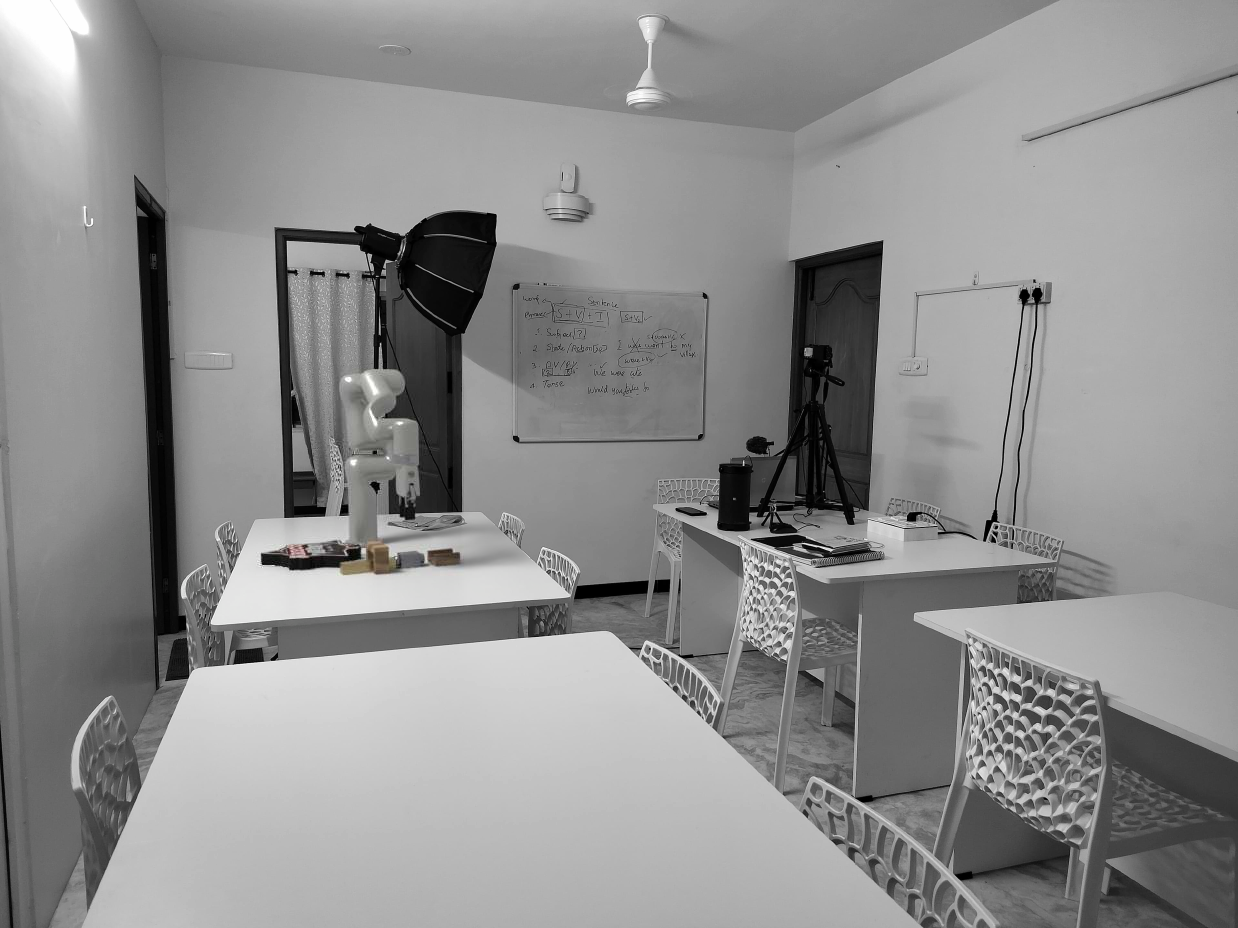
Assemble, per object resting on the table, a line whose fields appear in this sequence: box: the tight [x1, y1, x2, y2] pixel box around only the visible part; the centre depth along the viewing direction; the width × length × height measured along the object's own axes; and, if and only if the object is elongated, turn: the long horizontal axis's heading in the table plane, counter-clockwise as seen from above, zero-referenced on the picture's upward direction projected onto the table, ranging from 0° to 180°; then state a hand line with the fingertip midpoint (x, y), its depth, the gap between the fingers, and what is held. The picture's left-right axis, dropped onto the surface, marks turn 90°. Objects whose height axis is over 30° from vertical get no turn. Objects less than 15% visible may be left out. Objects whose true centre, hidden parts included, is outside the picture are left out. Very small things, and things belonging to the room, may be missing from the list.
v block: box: [426, 547, 461, 567], centre depth 260 cm, size 8×8×4 cm
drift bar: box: [339, 556, 397, 576], centre depth 247 cm, size 16×3×4 cm, turn 122°
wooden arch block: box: [365, 540, 390, 575], centre depth 249 cm, size 12×4×8 cm, turn 31°
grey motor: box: [393, 550, 426, 570], centre depth 254 cm, size 9×4×4 cm, turn 121°
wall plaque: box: [260, 539, 362, 571], centre depth 260 cm, size 28×4×30 cm
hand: (407, 517), depth 252 cm, fingers open, 4 cm apart
